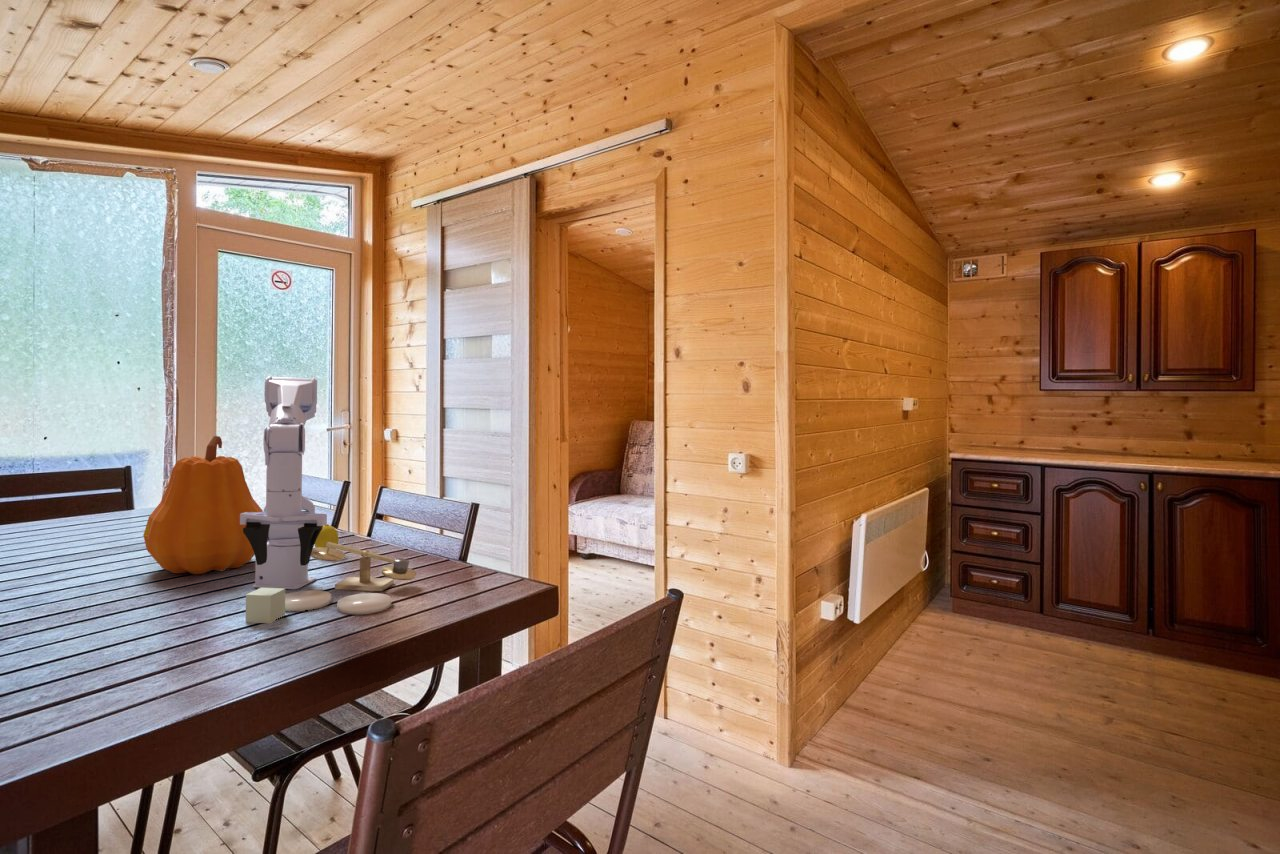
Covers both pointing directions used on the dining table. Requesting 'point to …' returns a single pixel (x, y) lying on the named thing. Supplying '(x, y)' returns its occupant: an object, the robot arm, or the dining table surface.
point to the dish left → (306, 600)
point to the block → (265, 605)
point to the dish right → (364, 603)
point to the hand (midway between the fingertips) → (283, 563)
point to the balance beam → (394, 572)
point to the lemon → (327, 536)
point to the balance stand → (364, 579)
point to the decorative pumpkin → (202, 516)
